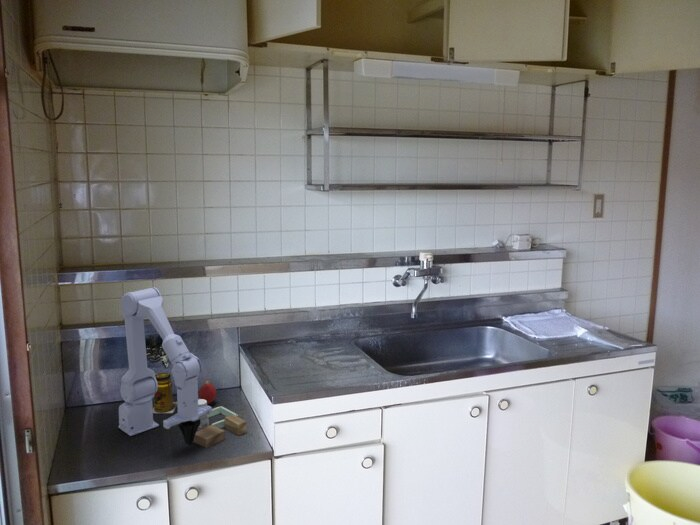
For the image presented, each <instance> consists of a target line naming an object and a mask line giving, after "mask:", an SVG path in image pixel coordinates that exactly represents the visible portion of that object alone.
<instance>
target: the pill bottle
mask: <svg viewBox="0 0 700 525" xmlns="http://www.w3.org/2000/svg"><path fill="white" fill-rule="evenodd" d="M204 406H208V404H207V401H206V400H205V399H200V398H198V408H199V407H204ZM209 418H210V417H209V415H208V414H206V415H203V416H200V417H198V419H199V420H200V421H201V423H200V425H199V427H198V429H197V431H199V430H201V429H204V428H206V427H208V426H210V420H209Z"/></svg>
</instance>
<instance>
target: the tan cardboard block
mask: <svg viewBox="0 0 700 525" xmlns="http://www.w3.org/2000/svg"><path fill="white" fill-rule="evenodd" d="M225 439H226V431H225V430H224V429H222V428H217V427H215V426H212V424H209V426H208V427H206V428H204V429H201V430H197V431H196V434H195V437H194V441H193V444H194V443H195V444H196V445H199V446H201V447H204V448H205V449H208V448H210V447H212V446H214V445H216V444H218V443H221V442H222V441H224V440H225Z"/></svg>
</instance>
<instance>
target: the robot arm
mask: <svg viewBox="0 0 700 525" xmlns="http://www.w3.org/2000/svg"><path fill="white" fill-rule="evenodd" d="M120 302H121V313H122V318H123V319H124V328H125V338H126V340H125V341H126V349H127V359H128V370H127V371H126V373H125V374H124V375H122V377H121V379H120V380H121V384H120V390H119V392H120V396H121V398H122V399H123V401H124V402H123V403H121V404H120V405H119V406H118V424H119V425H118V428H119V429H120V430H121V431H122V432H124V433H125V434H127V435H128V436H129V437H131V436H135V435H138V434H140V433H143V432H146V431H149V430H152V429H154V428H157V427H159V426H160V424H159V423H158V422H156V421H154V413H153V408H154V404H153V399H154V394H155V393H156V392H157V390H158V383H157V380H156V377H155V374H156V373H155V371H154V370H153V369H150V368H149V367H148V356H147V346H146V344H147V343H146V334H145V321H144V319H147V320H149V322H150V323H151V324H152V326H153V327H154V329H155V330H156V332H157V334H159V336H160V338H161V339H162V344H161V347H162V349H163V351H164V353H165V355H166V356H167V358H168V360H169V361H170V363H171V365H172V369H171V376H172V377H173V379H174V385H175V386H176V399H177V400H176V402H177V406H176V408H177V413H175V414H174V415H172V416H170V417H168V418H166V419H163V421H162V424H163V426H162V427H163V428H164V429H165V430H166V429H167V430H169V429H171V427H175V426H176V425H177V427H178V428H179V430H180V432H181V433H182V434H181V435H182V437H183V440H184V444H185V445H187V446H191V445H193V444H194V442H193V441H194V437H195V434H196V432H197V431H198V430H197V429H198V427H199V425H200V423H201V421H200V420H199V419H198V417H200V416H203V415H206V414H212V409H213V408H212V406H210V405H207V406H204V407H199V408H198V399H199V386H198V385H199V381H198V380H199V379H198V376H199V375H201V373H202V370H203V366H202V362H201V359H199V357H198V356H196V355H194V353H192V352H190V351H189V348H188V347H187V345H186V343H185V342H184V340H183V338H182V337H181V335H178V334H175V332H174V330H173V327H172V325H171V323H170V321H169V319H168V318H167V315H166V312H165V311H164V309H163V308H164V307H163V306H164V298H163V296H162V293H161V291H159V289H158V288H157V287H155V286H153V287H152V286H151V287H150V288H145V289H139V290H135V291H129V292H128V291H127V292H126V293H124V294H123V296H122V297H121V298H120Z"/></svg>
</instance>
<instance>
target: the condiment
mask: <svg viewBox="0 0 700 525" xmlns="http://www.w3.org/2000/svg"><path fill="white" fill-rule="evenodd" d="M155 377H156V380H157V383H158V390H157V392H156V393H155V394H154V397H153V414H174V412H175V410H176V408H177V401H174V396H173V381H172V379H171V377H172V374H170V373H169V372H158V373H155ZM173 406H174V407H173Z"/></svg>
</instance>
